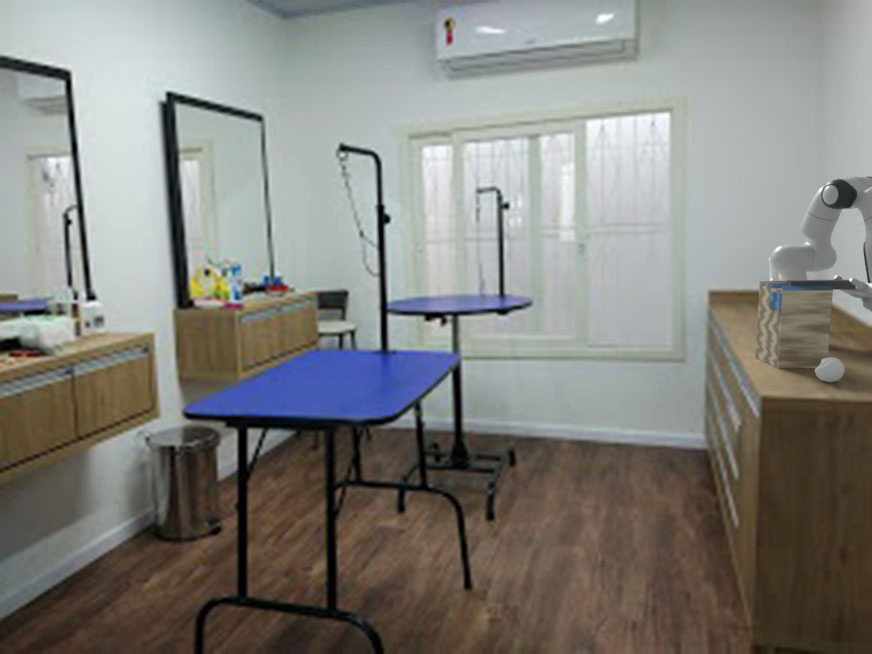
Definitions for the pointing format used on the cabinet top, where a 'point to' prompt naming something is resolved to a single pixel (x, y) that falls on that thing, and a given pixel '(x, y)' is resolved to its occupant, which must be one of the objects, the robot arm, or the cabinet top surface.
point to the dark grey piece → (823, 283)
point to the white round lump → (830, 370)
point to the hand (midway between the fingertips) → (842, 278)
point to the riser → (793, 324)
